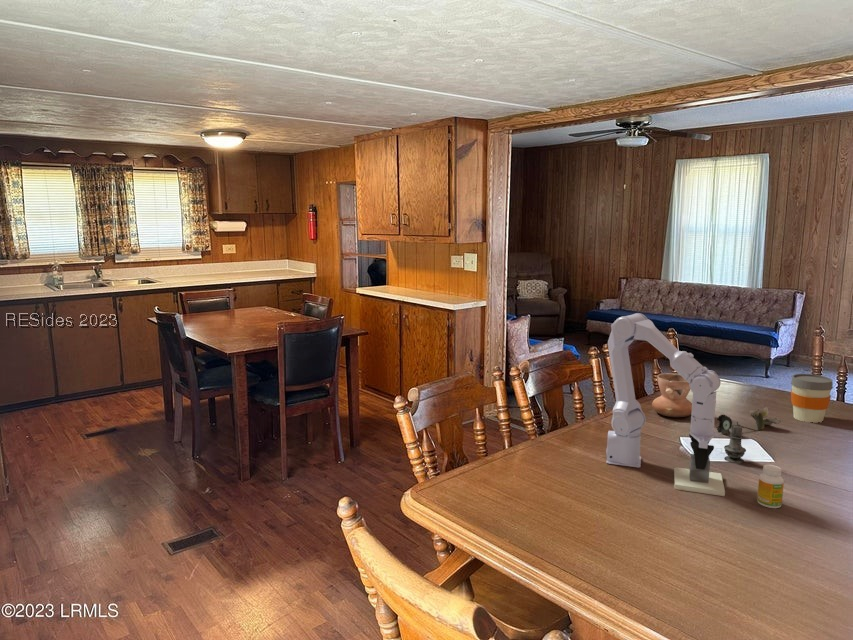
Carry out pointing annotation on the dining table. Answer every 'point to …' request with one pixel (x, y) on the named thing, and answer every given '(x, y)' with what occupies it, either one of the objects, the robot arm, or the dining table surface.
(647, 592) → the dining table surface
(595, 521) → the dining table surface
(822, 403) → the reusable coffee cup
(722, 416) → the artificial flower
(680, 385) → the ceramic jug
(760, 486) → the supplement bottle
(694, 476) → the slate block
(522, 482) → the dining table surface
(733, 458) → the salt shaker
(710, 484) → the cream square slab
